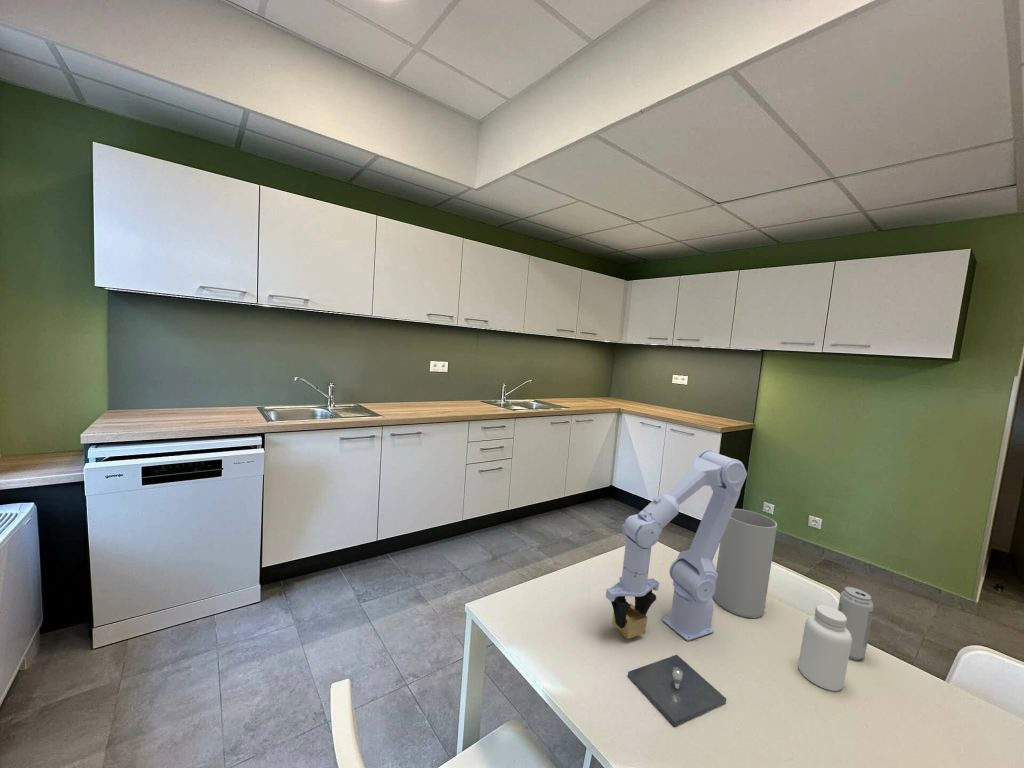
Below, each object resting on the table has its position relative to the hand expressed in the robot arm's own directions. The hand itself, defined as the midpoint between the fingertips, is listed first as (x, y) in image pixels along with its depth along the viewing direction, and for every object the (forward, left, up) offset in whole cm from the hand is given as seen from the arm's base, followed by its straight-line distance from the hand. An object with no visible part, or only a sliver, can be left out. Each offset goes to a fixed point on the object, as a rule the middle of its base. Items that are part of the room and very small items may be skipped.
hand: (629, 622), depth 95 cm
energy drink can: (-48, +23, -3) cm, 53 cm away
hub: (0, 0, -1) cm, 1 cm away
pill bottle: (-32, +25, -3) cm, 41 cm away
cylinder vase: (-39, +1, -3) cm, 39 cm away
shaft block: (+2, +16, -3) cm, 16 cm away
